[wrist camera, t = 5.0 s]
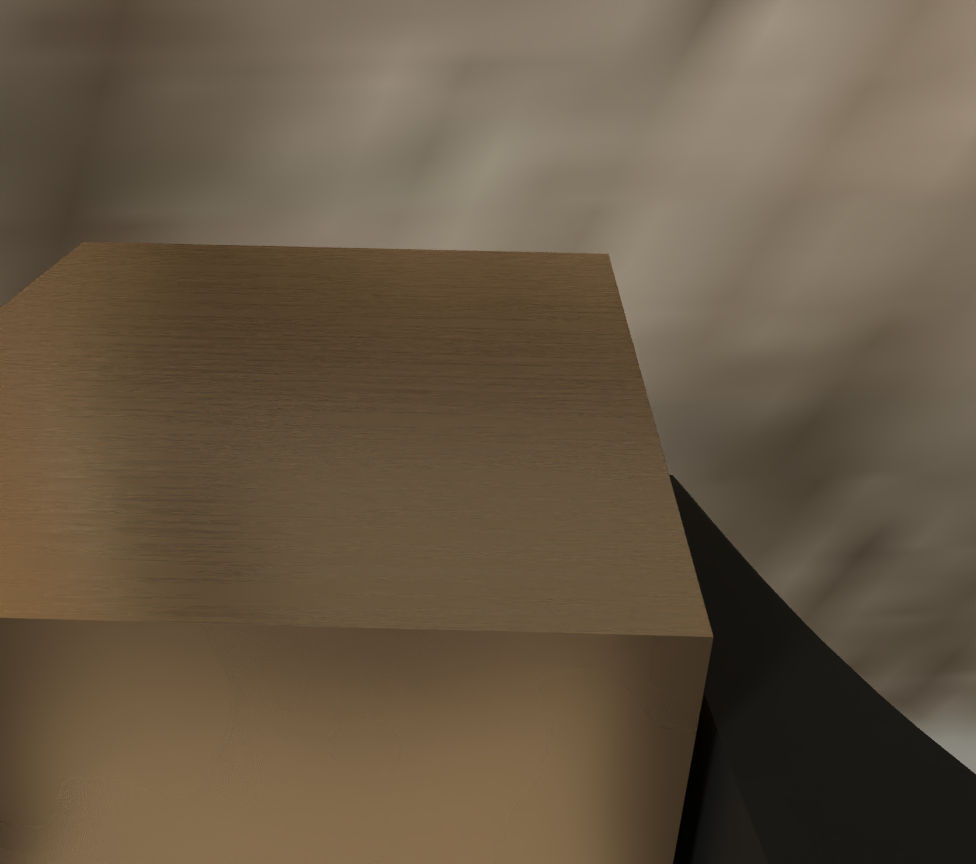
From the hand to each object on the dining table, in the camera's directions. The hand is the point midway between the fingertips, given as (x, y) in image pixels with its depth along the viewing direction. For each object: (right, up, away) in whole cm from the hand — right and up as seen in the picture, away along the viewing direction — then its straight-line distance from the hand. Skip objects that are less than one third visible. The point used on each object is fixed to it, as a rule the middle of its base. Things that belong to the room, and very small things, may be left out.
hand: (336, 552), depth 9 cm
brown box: (0, +1, +1) cm, 2 cm away
